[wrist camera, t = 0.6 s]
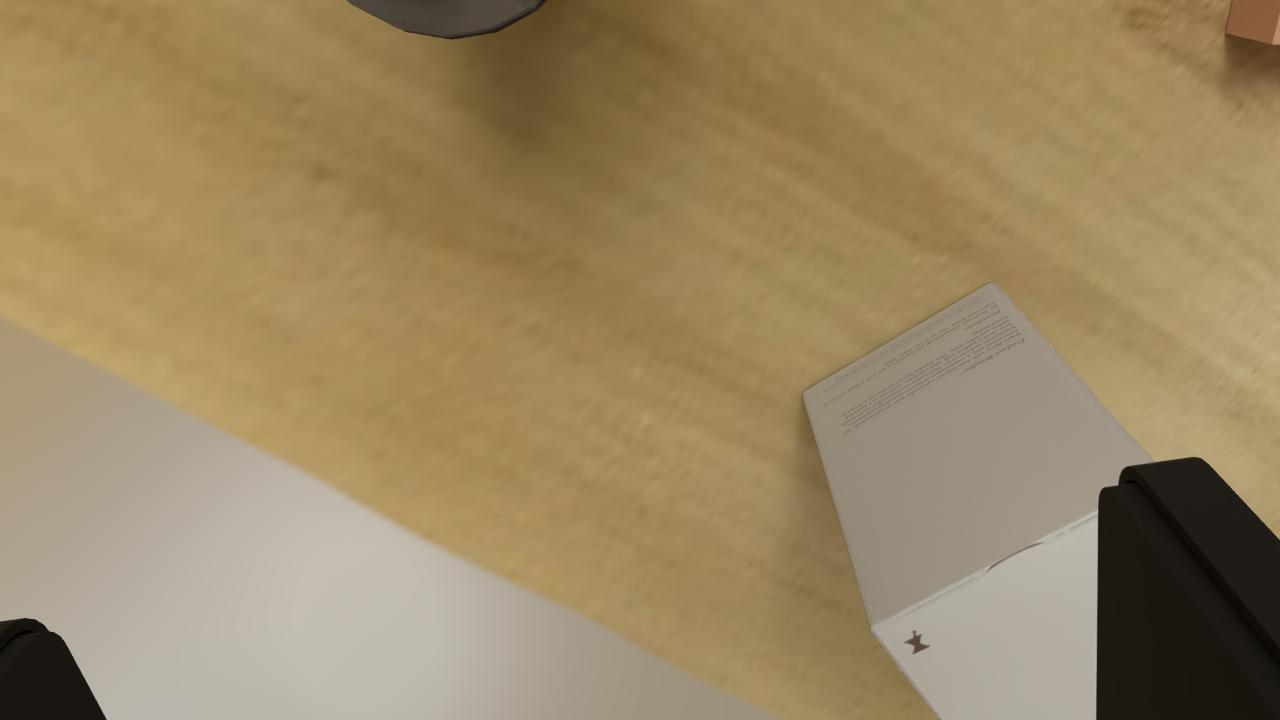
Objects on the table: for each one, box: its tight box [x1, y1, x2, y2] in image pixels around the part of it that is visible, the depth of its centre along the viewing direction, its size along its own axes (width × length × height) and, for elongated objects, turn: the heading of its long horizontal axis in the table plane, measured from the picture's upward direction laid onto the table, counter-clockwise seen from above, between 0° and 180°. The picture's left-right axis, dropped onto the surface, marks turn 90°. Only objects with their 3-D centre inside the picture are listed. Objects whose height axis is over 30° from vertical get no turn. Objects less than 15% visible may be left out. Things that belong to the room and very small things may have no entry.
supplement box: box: [802, 282, 1155, 720], centre depth 35 cm, size 9×9×15 cm
